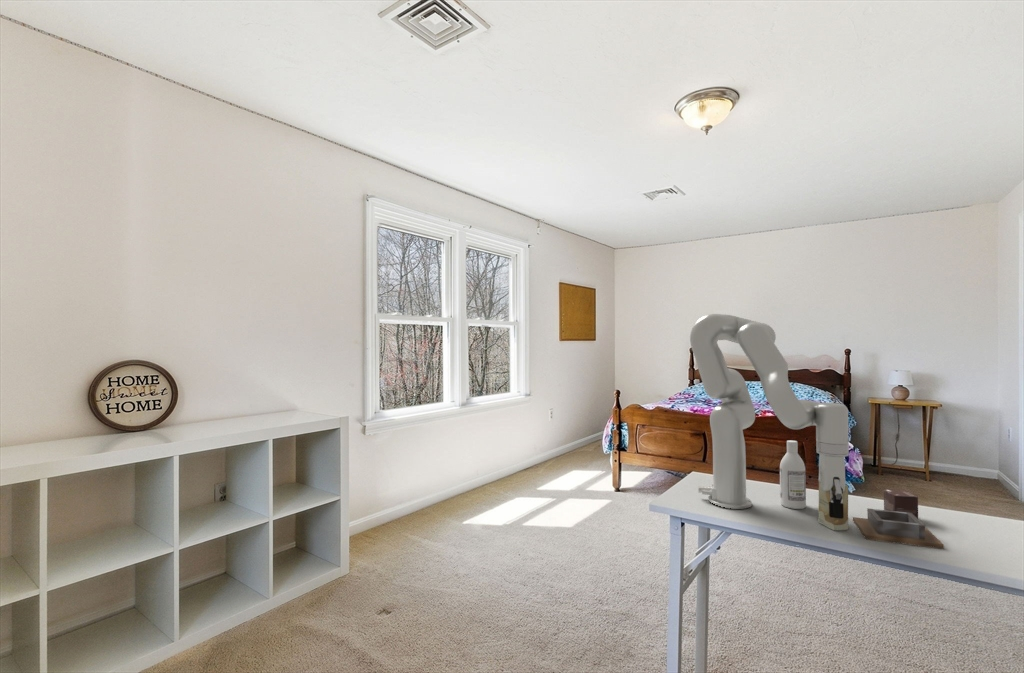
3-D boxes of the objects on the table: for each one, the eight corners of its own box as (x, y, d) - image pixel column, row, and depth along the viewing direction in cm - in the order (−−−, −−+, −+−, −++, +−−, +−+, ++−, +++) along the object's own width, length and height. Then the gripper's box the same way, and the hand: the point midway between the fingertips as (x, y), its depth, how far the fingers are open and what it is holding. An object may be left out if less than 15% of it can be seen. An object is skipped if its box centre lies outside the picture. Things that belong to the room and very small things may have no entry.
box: (919, 523, 140) (918, 496, 140) (894, 521, 141) (894, 495, 141) (906, 515, 146) (906, 490, 146) (883, 514, 147) (883, 489, 147)
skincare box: (817, 522, 141) (817, 479, 141) (832, 521, 141) (831, 478, 141) (834, 531, 134) (833, 485, 134) (849, 530, 135) (848, 485, 135)
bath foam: (811, 508, 153) (810, 442, 153) (794, 510, 150) (793, 444, 150) (791, 501, 159) (790, 438, 159) (775, 503, 157) (774, 440, 157)
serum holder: (865, 539, 129) (865, 521, 129) (852, 520, 142) (852, 504, 142) (943, 548, 123) (943, 530, 123) (922, 528, 136) (922, 511, 136)
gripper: (811, 441, 147) (812, 501, 147) (822, 454, 131) (823, 521, 131) (841, 443, 144) (842, 504, 144) (856, 456, 128) (857, 525, 128)
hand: (833, 512), depth 138 cm, fingers closed on skincare box, 7 cm apart
